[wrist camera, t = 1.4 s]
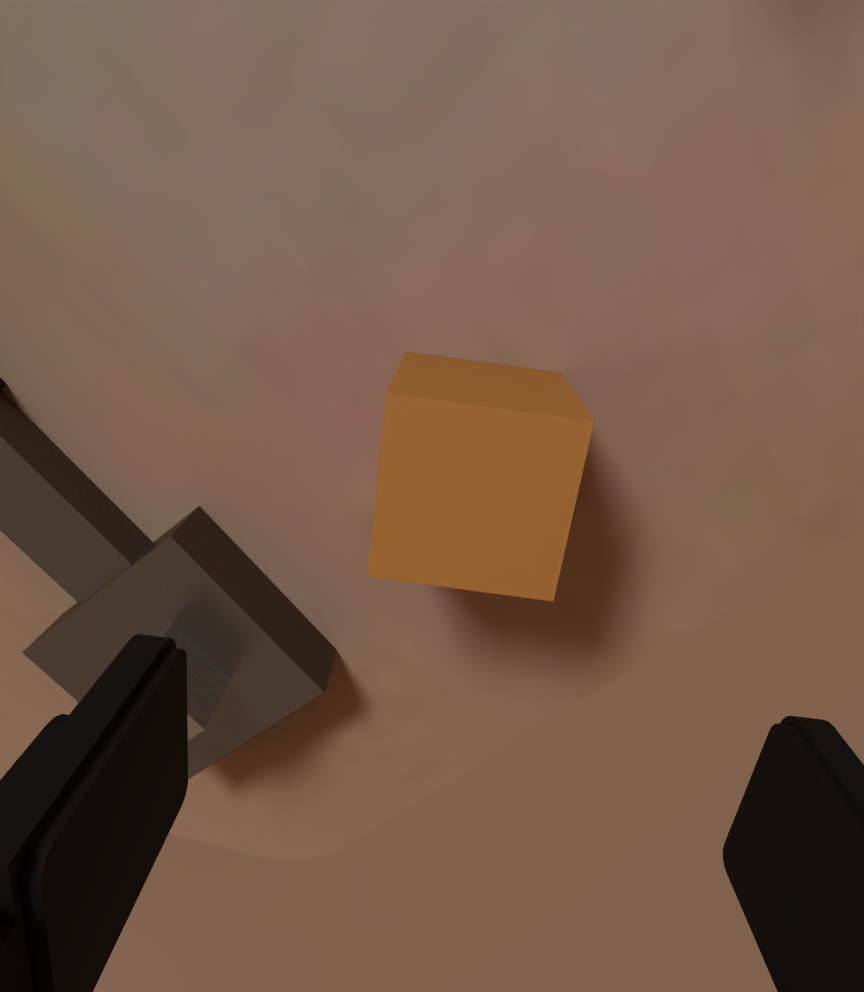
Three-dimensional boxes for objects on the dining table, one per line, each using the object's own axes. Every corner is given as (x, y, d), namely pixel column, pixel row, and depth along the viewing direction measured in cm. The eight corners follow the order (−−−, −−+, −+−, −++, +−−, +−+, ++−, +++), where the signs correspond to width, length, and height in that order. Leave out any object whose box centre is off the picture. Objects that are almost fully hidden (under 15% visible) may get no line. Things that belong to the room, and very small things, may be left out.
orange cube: (560, 372, 25) (594, 420, 19) (531, 514, 28) (553, 601, 21) (405, 351, 25) (386, 392, 19) (389, 495, 28) (367, 576, 21)
